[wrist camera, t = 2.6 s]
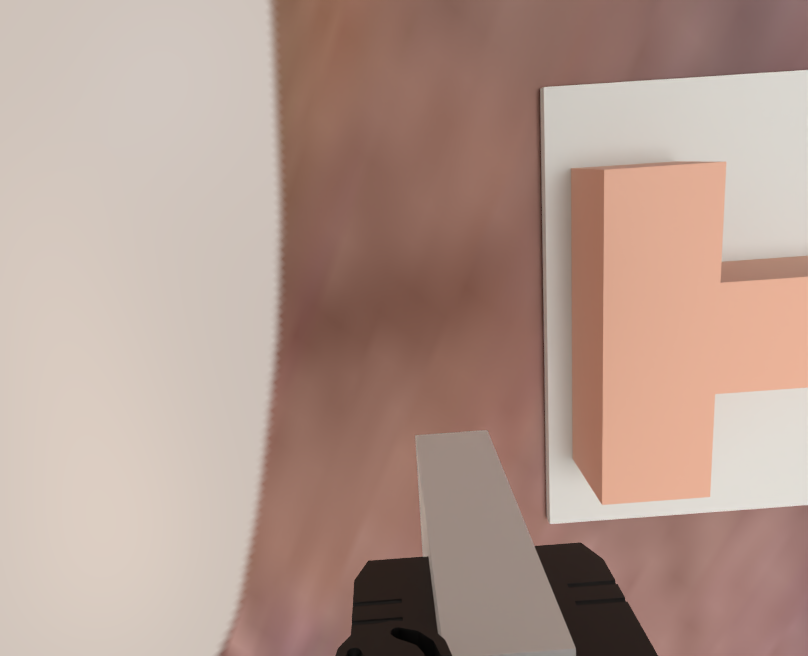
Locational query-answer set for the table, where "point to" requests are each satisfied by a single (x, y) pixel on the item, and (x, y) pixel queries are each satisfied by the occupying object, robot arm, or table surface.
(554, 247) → the mat
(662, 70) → the table surface
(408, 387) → the table surface
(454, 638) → the robot arm
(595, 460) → the tee
